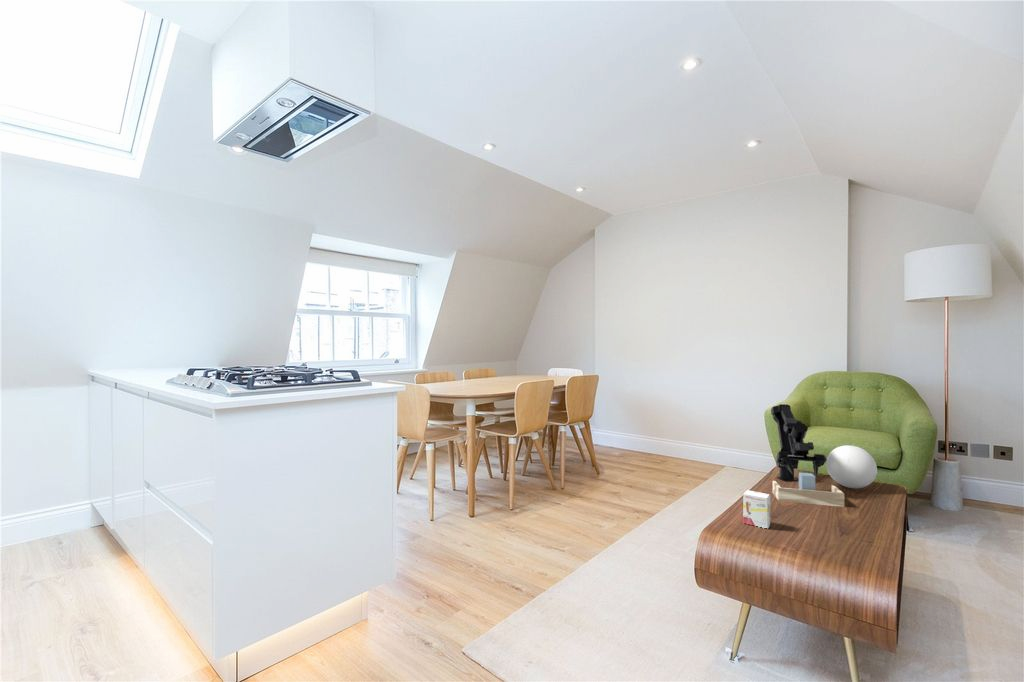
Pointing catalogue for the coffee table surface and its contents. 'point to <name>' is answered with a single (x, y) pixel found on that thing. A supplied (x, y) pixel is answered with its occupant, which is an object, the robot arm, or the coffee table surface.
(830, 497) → the birch crate
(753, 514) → the ink box
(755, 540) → the coffee table surface
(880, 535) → the coffee table surface
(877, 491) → the coffee table surface
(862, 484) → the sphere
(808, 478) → the pale blue block
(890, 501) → the coffee table surface
